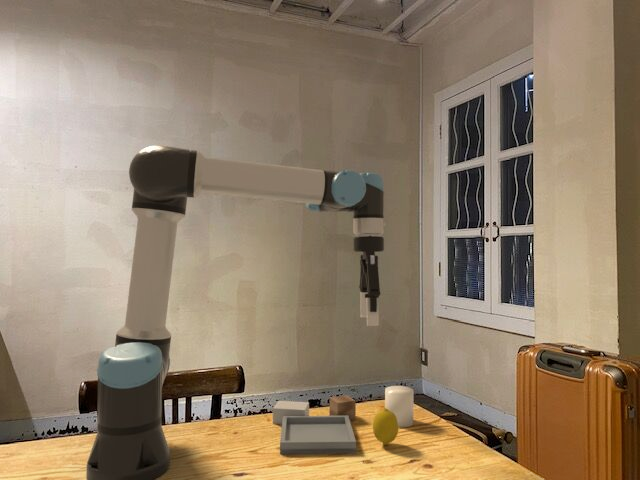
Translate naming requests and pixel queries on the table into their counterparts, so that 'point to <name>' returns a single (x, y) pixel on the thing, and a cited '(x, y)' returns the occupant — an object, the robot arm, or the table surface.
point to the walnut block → (343, 407)
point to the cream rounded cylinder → (400, 404)
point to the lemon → (385, 426)
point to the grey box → (289, 410)
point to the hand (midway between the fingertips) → (369, 321)
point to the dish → (317, 435)
